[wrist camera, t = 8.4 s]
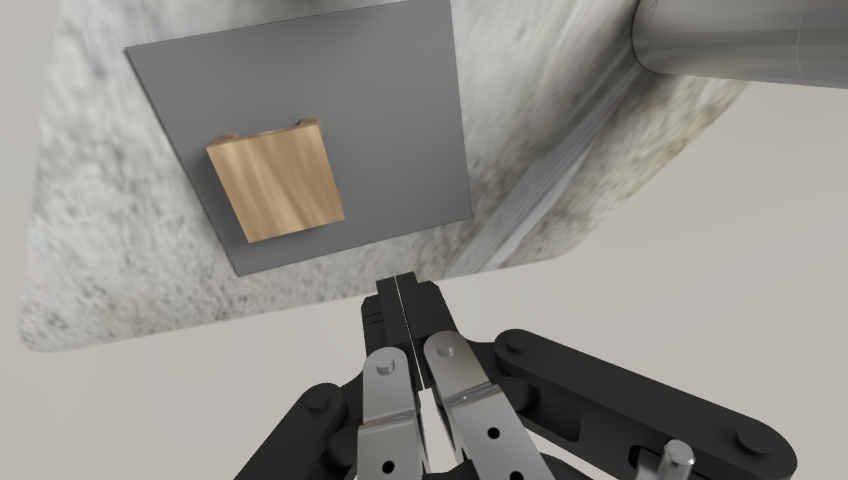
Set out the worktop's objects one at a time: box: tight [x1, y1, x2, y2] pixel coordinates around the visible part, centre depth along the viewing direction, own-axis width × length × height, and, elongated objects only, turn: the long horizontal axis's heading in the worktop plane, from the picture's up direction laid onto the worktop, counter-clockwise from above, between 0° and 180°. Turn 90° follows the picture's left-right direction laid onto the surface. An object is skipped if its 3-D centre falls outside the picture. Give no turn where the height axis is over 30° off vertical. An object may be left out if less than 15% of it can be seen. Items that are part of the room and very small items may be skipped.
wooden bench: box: [206, 116, 345, 243], centre depth 31 cm, size 4×8×8 cm
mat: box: [125, 0, 471, 277], centre depth 33 cm, size 24×20×1 cm
